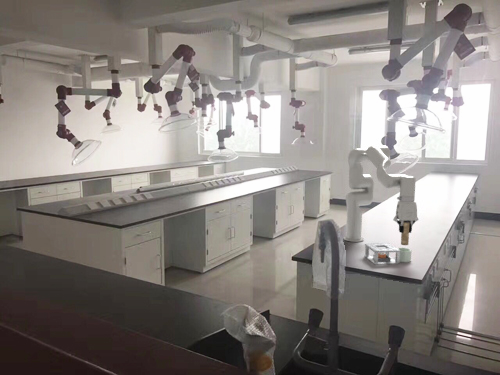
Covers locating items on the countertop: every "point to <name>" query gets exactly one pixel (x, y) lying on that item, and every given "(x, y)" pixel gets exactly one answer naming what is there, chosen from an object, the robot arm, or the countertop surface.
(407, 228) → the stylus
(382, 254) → the breaker plunger
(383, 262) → the breaker guard
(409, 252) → the holder
